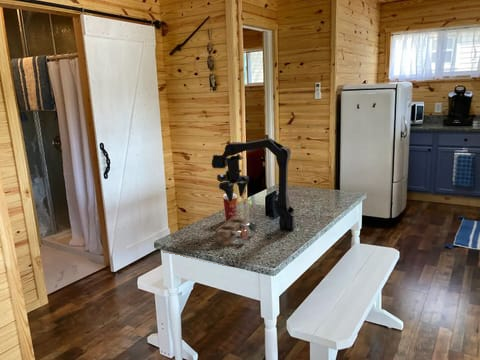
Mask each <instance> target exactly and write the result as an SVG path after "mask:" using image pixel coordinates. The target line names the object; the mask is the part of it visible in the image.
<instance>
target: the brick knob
mask: <svg viewBox="0 0 480 360" xmlns="http://www.w3.org/2000/svg"><path fill="white" fill-rule="evenodd" d="M230 232H231V235H234V236H238V237H240V238H241V239H243V240H248V239H249V229H246V230H242V231H233V230H230Z"/></svg>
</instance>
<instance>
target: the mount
mask: <svg viewBox="0 0 480 360" xmlns="http://www.w3.org/2000/svg"><path fill="white" fill-rule="evenodd" d="M239 223H245V224H247V222H246V218H245V217H239V216H238V217H236V216H234V217H232V218H231V219H230V220H228V221H226V222H224V223H223V224H222V225H220V226H219V227H218V228H216V229H215V243H216V245H224V246H229V245H231V244H232V243H233V242H234V241H236V240H237V238H238V237H239V236H234V235H231V232H230V230H233V231H242V230H247V228H240V224H239Z"/></svg>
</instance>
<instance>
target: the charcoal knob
mask: <svg viewBox="0 0 480 360" xmlns="http://www.w3.org/2000/svg"><path fill="white" fill-rule="evenodd" d="M239 224H240V228H246V229H247V230H250V231H249V232H256V231H257V227H258V225H257V222H253V221H251V222H249V223H246V224H245V223H239Z"/></svg>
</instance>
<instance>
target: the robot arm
mask: <svg viewBox="0 0 480 360" xmlns="http://www.w3.org/2000/svg"><path fill="white" fill-rule="evenodd" d="M265 148H266V149H268V150H269V152H271V154H272V155H274V156H275V159H276V164H277V166H278V196H277V197H276V198H275V199H274V207H273V209H275V212H276V213H277V215H278V216H279V219H278V221H279V223H278V224H279V225H278V227H279V229H278V230H279V231H287V232H292V231H294V230H295V229H296V227H297V225H295V215H294V214H295V209H294V208H293V206H291V204H290V203H291V202H290V198H289V196H288V171H289V170H288V166H289V163H290V159H291V153H292V152H291V149H290V148H289V147H288V146H284V145H283V144H281V143H279V142H277V141H275V140H274V139H273V138H270V137H268V138H266V139H265V138H264V139H259V140H254V141H248V142H240V141H239V142H238V141H236V142H235V141H234V142H230V143H228V144H226V145H225V146H224V152H223V153H222V154H213V155H212V160H211V167H212V168H213V169H226V167H227V170H226V171H225V174H222V173H220V174H217V176H216V177H217V178H216V180H217V181H218V182H219V185H218V188H219V190H221V191H224V194H226V195H227V197H228V199H229V201H230V202H232V198H233V193H234V192H235V188H234V185H237V188H238V194H239V197H240V198H241V197H243V195H244V192H245V190H246V187H247V185H248V184H249V182H250V177H249V176H248V175H242V174H240V173H242V169H240V160H242V159H243V158H244V157H243V156H242V155H241V153H242V152H247V151H253V150H259V149H265Z"/></svg>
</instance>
